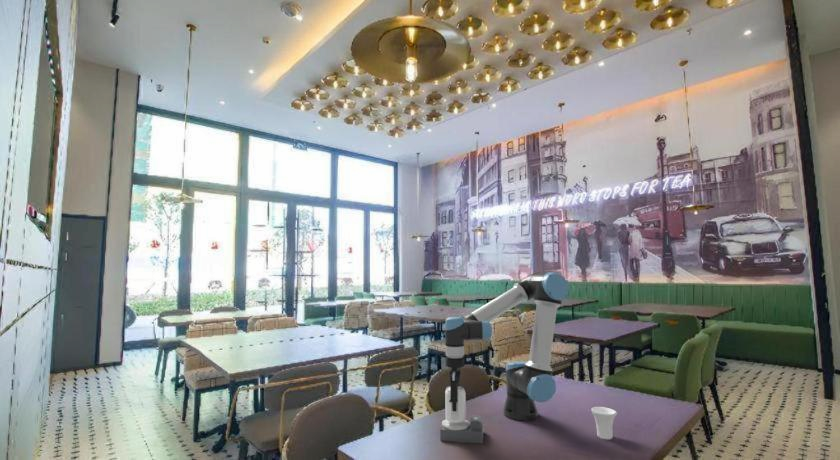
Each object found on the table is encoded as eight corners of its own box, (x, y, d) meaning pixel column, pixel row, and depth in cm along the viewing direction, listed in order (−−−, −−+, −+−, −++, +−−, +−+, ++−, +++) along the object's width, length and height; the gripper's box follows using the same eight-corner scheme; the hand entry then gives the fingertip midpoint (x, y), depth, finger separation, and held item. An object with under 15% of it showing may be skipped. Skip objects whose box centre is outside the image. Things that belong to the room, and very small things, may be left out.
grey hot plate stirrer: (483, 431, 158) (482, 411, 159) (482, 443, 147) (482, 421, 148) (443, 429, 161) (443, 409, 162) (440, 440, 150) (440, 419, 151)
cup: (617, 443, 147) (615, 415, 148) (590, 437, 152) (589, 411, 153) (619, 435, 154) (618, 408, 155) (594, 430, 159) (592, 404, 160)
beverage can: (465, 424, 151) (464, 392, 152) (444, 423, 152) (443, 390, 154) (466, 416, 158) (466, 386, 160) (447, 415, 160) (446, 385, 161)
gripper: (448, 351, 169) (449, 406, 166) (442, 361, 149) (443, 424, 146) (465, 351, 167) (467, 407, 165) (462, 362, 147) (463, 425, 145)
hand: (455, 415), depth 155 cm, fingers closed on beverage can, 8 cm apart
